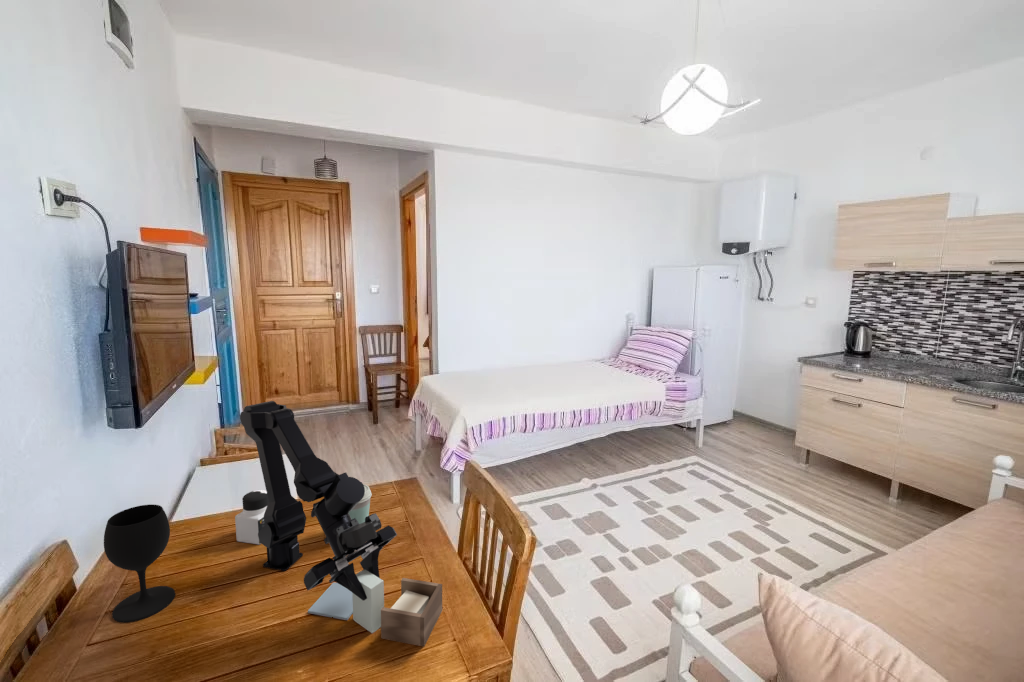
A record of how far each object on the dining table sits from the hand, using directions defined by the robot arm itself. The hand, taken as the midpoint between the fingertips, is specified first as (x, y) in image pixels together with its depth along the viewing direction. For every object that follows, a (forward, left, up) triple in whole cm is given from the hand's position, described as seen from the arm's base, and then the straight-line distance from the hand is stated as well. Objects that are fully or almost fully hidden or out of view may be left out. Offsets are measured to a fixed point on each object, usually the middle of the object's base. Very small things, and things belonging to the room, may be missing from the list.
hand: (372, 594), depth 89 cm
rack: (+7, +2, -7) cm, 10 cm away
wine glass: (-49, -5, -7) cm, 50 cm away
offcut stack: (+7, +2, -7) cm, 10 cm away
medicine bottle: (-45, +22, -7) cm, 51 cm away
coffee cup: (-21, +30, -7) cm, 37 cm away
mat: (-10, +4, -7) cm, 13 cm away
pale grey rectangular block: (-1, +1, -7) cm, 7 cm away
